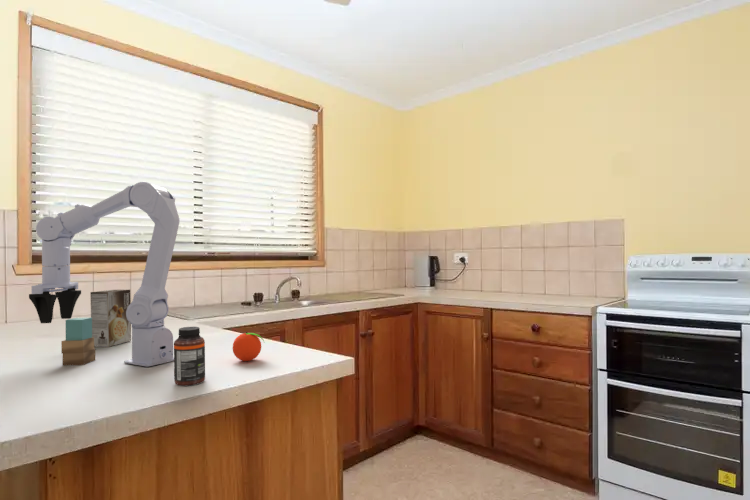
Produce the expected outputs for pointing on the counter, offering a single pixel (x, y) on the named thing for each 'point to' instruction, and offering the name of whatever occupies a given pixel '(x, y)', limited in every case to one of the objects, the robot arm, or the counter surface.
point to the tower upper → (77, 346)
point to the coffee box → (110, 317)
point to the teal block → (78, 329)
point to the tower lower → (79, 358)
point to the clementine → (247, 346)
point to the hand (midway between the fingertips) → (56, 320)
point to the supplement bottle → (189, 357)
